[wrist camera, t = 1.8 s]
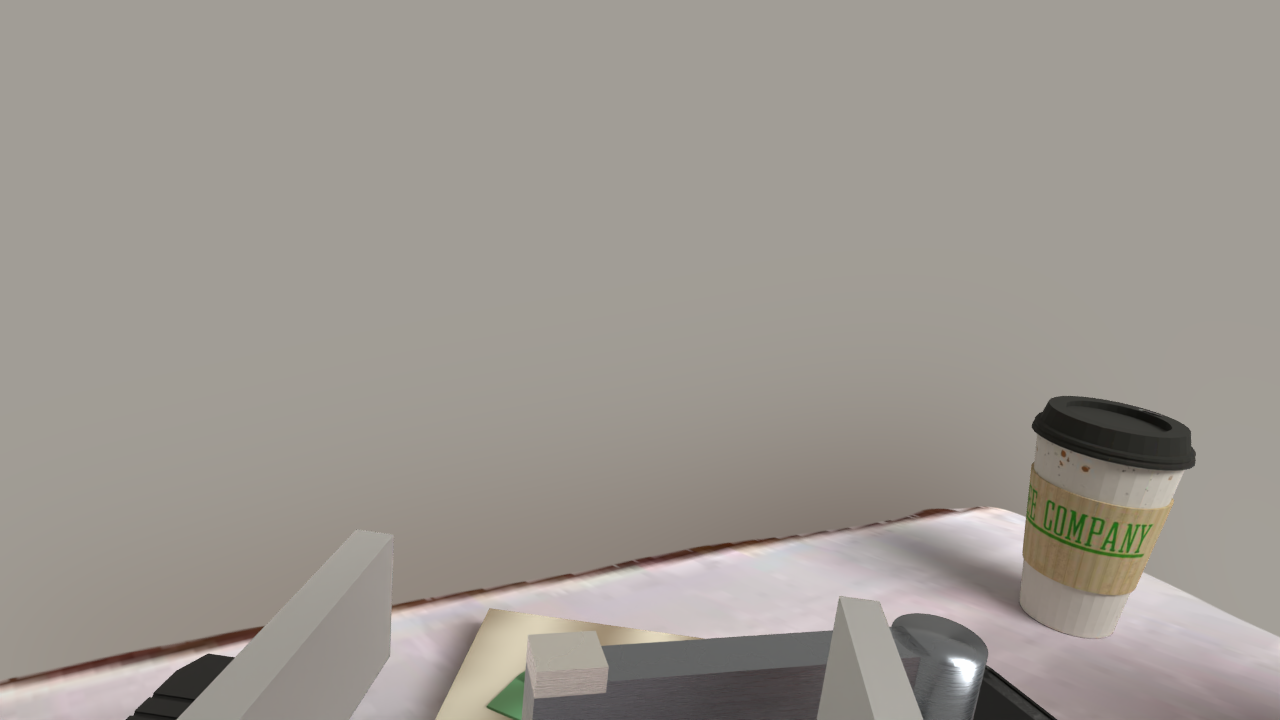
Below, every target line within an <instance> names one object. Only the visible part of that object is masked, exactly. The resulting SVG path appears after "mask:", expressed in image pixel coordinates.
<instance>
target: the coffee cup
mask: <svg viewBox="0 0 1280 720" xmlns="http://www.w3.org/2000/svg"><path fill="white" fill-rule="evenodd" d="M1032 428H1033V430H1034V431H1035V432H1036V433H1037V441H1036V451H1035V461H1034V463H1033V464H1032V467H1031V475H1030V485H1029V496H1028V504H1027V514H1026V524H1025V533H1024V543H1023V557H1024V562H1023V571H1022V580H1021V589H1020V598H1019V603H1020V605H1021V607H1022V608H1023V610H1024V611H1025V612H1026V613H1027V614H1028V615H1029V616H1031V617H1032V618H1034V619H1035V620H1036V621H1038V622H1040V623H1042V624H1043V625H1045V626H1047V627H1050V628H1052V629H1054V630H1057V631H1059V632H1062V633H1065V634H1069V635H1072V636H1077V637H1082V638H1090V639H1099V638H1105V637H1108V636H1110V635H1111V634H1112V633H1113V631H1114V629H1115V627H1116V625H1117V622H1118V620H1119V618H1120V615H1121V613H1122V611H1123V609H1124V606H1125V604H1126V602H1127V600H1128V597H1129V595H1130V593H1131V592H1132V591H1133V590H1135V588H1136V586H1137V584H1138V581H1139V579H1140V577H1141V575H1142V572H1143V570H1144V568H1145V566H1146V564H1147V561H1148V559H1149V557H1150V554H1151V552H1152V550H1153V548H1154V546H1155V543H1156V541H1157V539H1158V536H1159V534H1160V532H1161V529H1162V528H1163V525H1164V523H1165V521H1166V519H1167V517H1168V514H1169V512H1170V510H1171V508H1172V505H1173V502H1174V500H1173V498H1172V497H1173V495H1174V493H1175V491H1176V488H1177V486H1178V484H1179V482H1180V479H1181V477H1182V475H1183V472H1184V470H1186V469H1190V468H1192V467H1193V466H1195V456H1196V453H1195V451H1194V449H1193V448H1192V447H1191V431H1190V430H1189V428H1188V427H1186V426H1185V425H1184V424H1182V423H1180V422H1178V421H1176V420H1174V419H1172V418H1169V417H1167V416H1164V415H1161V414H1159V413H1156V412H1153V411H1150V410H1146V409H1143V408H1139V407H1135V406H1131V405H1127V404H1123V403H1119V402H1113V401H1108V400H1103V399H1096V398H1088V397H1076V396H1060V397H1054V398H1052V399H1050V400H1049V402H1048V403H1047V405H1046V407H1045V409H1044V411H1043V412H1041V413H1039V414H1038V415H1037V416H1036V417H1035V420H1034V422H1033V424H1032Z"/></svg>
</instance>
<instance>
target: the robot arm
mask: <svg viewBox="0 0 1280 720" xmlns="http://www.w3.org/2000/svg"><path fill="white" fill-rule="evenodd" d="M393 548H394V535H392V534H385V533H378V532H370V531H364V530H356V531H355V532H354V533H353V534H352V535H351V536H350V537H349V538H348V539H347V540H346V541H345V542H344V543H343V544H342V545H341V546H340V548H338V550H337V551H336V552H335V553H334V554H333V555H332V556H331V557H330V558H329V559H328V560H327V561H326V562H325V563H324V564H323V565H322V566H321V568H320V569H319V570H318V571H317V572H316V573H315V574H314V575H313V576H312V577H311V578H310V579H309V580H308V581H307V582H306V583H305V584H304V585H303V587H302V588H301V589H300V590H299V591H298V592H297V593H296V594H295V595H294V596H293V597H292V598H291V599H290V600H289V601H288V602H287V603H286V604H285V606H284V607H283V608H282V609H281V610H280V611H279V612H278V613H277V614H276V615H275V616H274V617H273V618H272V619H271V620H270V621H269V623H267V624H266V626H265V627H264V628H263V629H262V630H261V631H260V632H259V633H258V634H257V635H256V636H255V637H254V638H253V639H252V640H251V641H250V642H249V643H248V645H247V646H246V647H245V648H244V649H243V650H242V651H241V652H240V653H239V654H238V655H237V656H236V657H235V658H234V657H227V656H221V655H214V654H207V655H205V656H203V657H201V658H199V659H197V660H196V661H194V662H192V663H190V664H188V665H186V666H184V667H183V668H181V669H179V670H177V671H176V672H175V673H174V674H173V675H172V676H171V677H169V678H168V679H167V680H166V681H165V682H164V683H163V684H162V685H161V686H160V687H159V688H158V689H157V690H156V691H155V692H154V693H153V697H152V698H151V697H149V698H148V699H147V700H146V701H145V702H144V703H143V704H142V705H140V706H139V707H138V708H137V709H136V710H135V713H134V715H133V716H129V717H128V718H127V719H126V720H349V719H350V717H351V716H352V714H353V713H354V711H355V710H356V708H357V707H358V705H359V703H360V702H361V700H362V699H363V697H364V696H365V694H366V693H367V691H368V689H369V688H370V686H371V685H372V683H373V682H374V680H375V679H376V677H377V675H378V674H379V672H380V671H381V669H382V668H383V666H384V664H385V663H386V661H387V660H388V658H389V657H390V637H391V607H392V576H393ZM817 720H923V717H922V715H921V712H920V709H919V707H918V704H917V701H916V698H915V696H914V693H913V690H912V688H911V685H910V682H909V680H908V677H907V674H906V671H905V669H904V666H903V663H902V661H901V658H900V655H899V653H898V650H897V647H896V644H895V642H894V639H893V636H892V634H891V631H890V628H889V626H888V623H887V620H886V618H885V615H884V612H883V609H882V607H881V604H880V602H879V601H872V600H865V599H857V598H850V597H843V596H839V601H838V607H837V612H836V618H835V623H834V628H833V634H832V639H831V645H830V650H829V656H828V661H827V666H826V672H825V677H824V683H823V688H822V694H821V699H820V704H819V710H818V715H817Z"/></svg>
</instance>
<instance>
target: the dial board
mask: <svg viewBox="0 0 1280 720" xmlns="http://www.w3.org/2000/svg"><path fill="white" fill-rule="evenodd" d="M581 631H596V633H597V636H598V639H599V642H600V644H601V646H606V645H621V644H636V643H652V642H667V641H682V640H697V639H703V638H696V637H689V636H682V635H675V634H668V633H660V632H653V631H646V630H639V629H632V628H625V627H618V626H611V625H604V624H597V623H590V622H582V621H575V620H568V619H561V618H554V617H547V616H540V615H533V614H526V613H519V612H512V611H505V610H497V609H490V608H489V611H488V613H487V615H486V617H485V619H484V621H483V623H482V625H481V627H480V629H479V631H478V633H477V635H476V637H475V639H474V641H473V643H472V645H471V647H470V649H469V651H468V653H467V656H466V658H465V660H464V662H463V664H462V666H461V668H460V670H459V672H458V674H457V676H456V678H455V680H454V682H453V684H452V686H451V688H450V690H449V692H448V694H447V696H446V698H445V700H444V703H443V705H442V707H441V709H440V711H439V713H438V715H437V717H436V719H435V720H522V707H523V695H524V682H525V670H526V654H527V641H528V635H532V634H548V633H565V632H581Z"/></svg>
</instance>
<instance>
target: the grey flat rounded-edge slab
mask: <svg viewBox="0 0 1280 720" xmlns="http://www.w3.org/2000/svg"><path fill="white" fill-rule="evenodd" d="M889 628H890V631H891V634H892V636H893V639H894V642H895V644H896V647H897V650H898V653H899V655H900V658H901V661H902V663H903V666H904V669H905V671H906V674H907V677H908V680H909V682H910V685H911V688H912V690H913V693H914V696H915V698H916V701H917V704H918V707H919V709H920V712H921V715H922V717H923V720H973V716H974V712H975V708H976V704H977V700H978V695H979V691H980V687H981V683H982V679H983V674H984V670H985V666H986V662H987V658H988V649H987V646H986V645H985V643H984V642H983V641H982V639H981V638H980V637H979V636H977V635H976V634H975V633H974V632H972V631H971V630H969V629H968V628H966V627H964V626H963V625H961V624H959V623H956V622H954V621H952V620H949V619H946V618H943V617H939V616H935V615H930V614H919V613H915V614H906V615H903V616H900V617H898V618H897V619H895V620H894V622H893V624H892V627H889ZM832 634H833V631H819V632H803V633H788V634H773V635H758V636H743V637H727V638H712V639H697V640H682V641H667V642H652V643H636V644H621V645H606V646H601V644H600V642H599V639H598V636H597V633H596V631H581V632H565V633H548V634H532V635H528V641H527V654H526V670H525V682H524V695H523V707H522V720H817V715H818V710H819V704H820V699H821V694H822V688H823V683H824V677H825V672H826V666H827V661H828V656H829V650H830V645H831V639H832Z"/></svg>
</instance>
